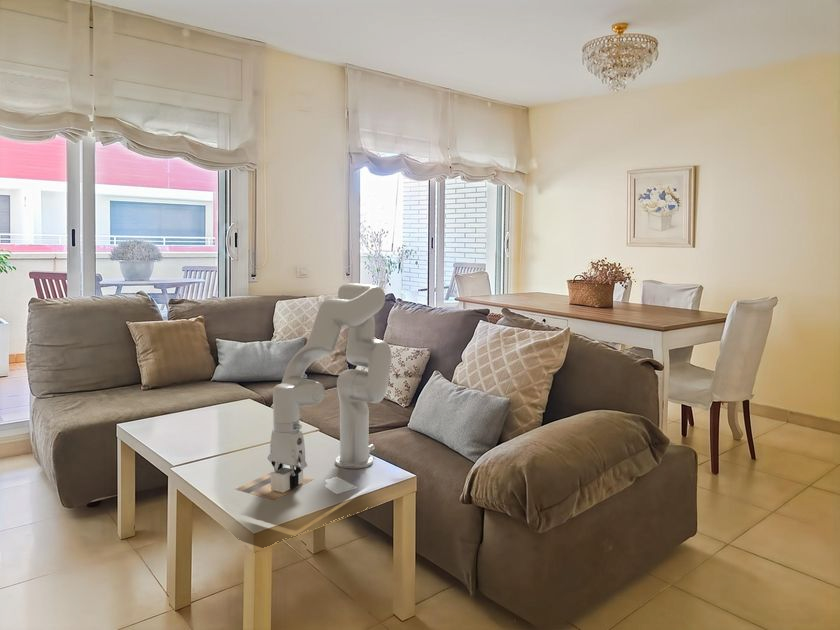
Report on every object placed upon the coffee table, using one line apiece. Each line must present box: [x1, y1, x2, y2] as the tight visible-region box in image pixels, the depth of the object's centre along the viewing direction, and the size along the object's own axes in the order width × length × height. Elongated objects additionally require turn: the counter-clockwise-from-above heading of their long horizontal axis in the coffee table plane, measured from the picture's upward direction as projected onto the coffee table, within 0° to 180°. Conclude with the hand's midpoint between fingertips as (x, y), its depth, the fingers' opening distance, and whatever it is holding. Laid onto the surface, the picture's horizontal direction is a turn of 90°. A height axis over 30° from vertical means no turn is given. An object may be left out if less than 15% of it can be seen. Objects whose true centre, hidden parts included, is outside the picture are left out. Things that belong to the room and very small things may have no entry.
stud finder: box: [270, 464, 304, 493], centre depth 183 cm, size 9×4×5 cm, turn 151°
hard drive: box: [324, 476, 358, 495], centre depth 186 cm, size 2×8×12 cm
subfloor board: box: [235, 470, 315, 501], centre depth 185 cm, size 18×15×1 cm
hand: (287, 484), depth 183 cm, fingers closed on stud finder, 4 cm apart
